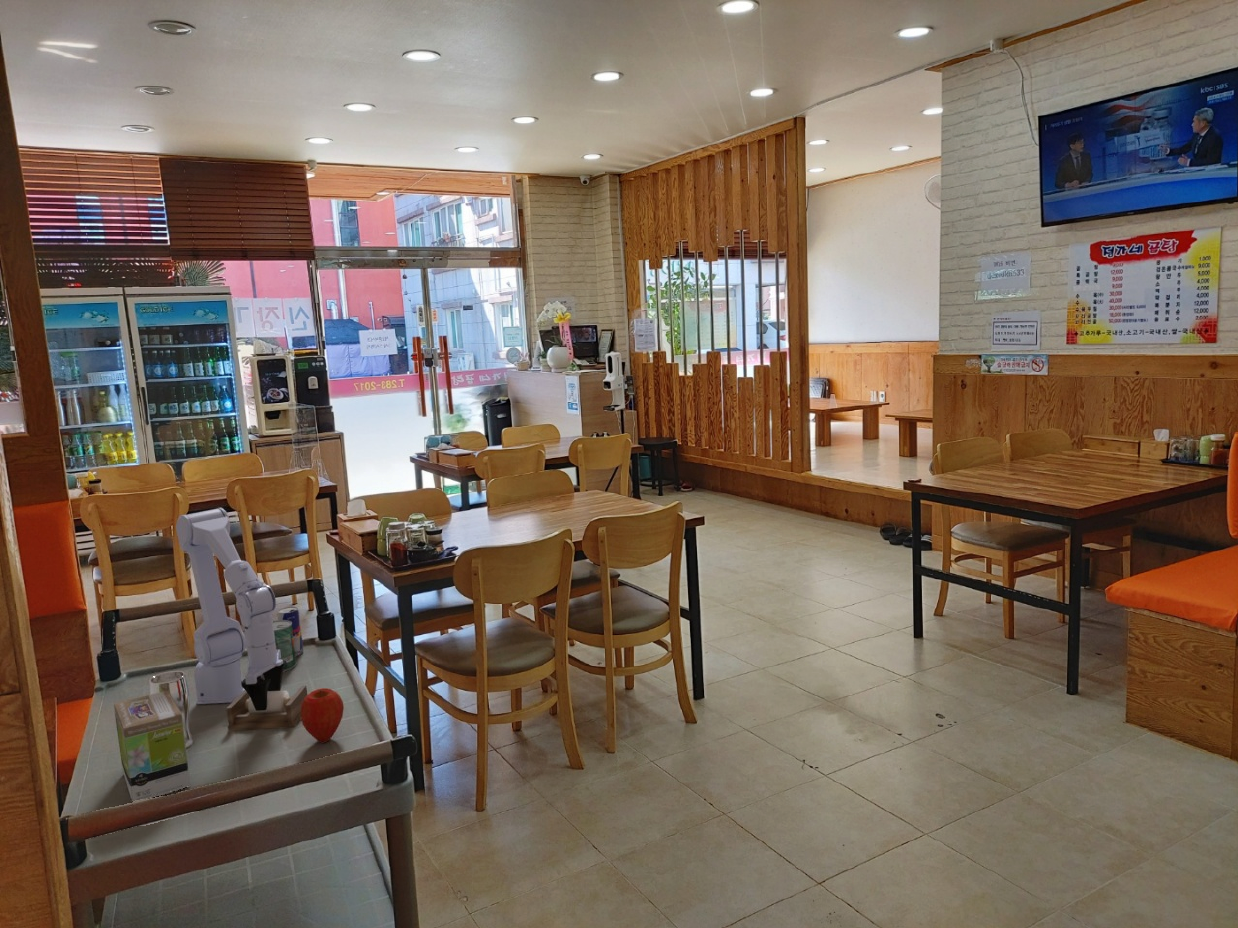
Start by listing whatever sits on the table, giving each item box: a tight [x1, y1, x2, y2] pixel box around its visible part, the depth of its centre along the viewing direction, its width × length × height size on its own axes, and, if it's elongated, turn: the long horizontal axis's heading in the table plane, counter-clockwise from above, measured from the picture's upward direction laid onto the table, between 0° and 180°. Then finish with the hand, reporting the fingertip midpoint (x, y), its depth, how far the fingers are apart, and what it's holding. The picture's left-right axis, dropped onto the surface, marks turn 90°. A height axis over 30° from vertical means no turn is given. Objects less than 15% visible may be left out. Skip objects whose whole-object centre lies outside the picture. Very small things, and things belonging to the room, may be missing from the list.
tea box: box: [113, 690, 191, 802], centre depth 166 cm, size 15×10×15 cm
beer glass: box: [148, 670, 194, 749], centre depth 180 cm, size 7×7×15 cm
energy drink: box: [276, 606, 304, 657], centre depth 230 cm, size 5×5×12 cm
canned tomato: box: [273, 619, 297, 673], centre depth 221 cm, size 8×8×11 cm
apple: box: [300, 687, 344, 743], centre depth 179 cm, size 9×8×11 cm
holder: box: [226, 685, 308, 731], centre depth 192 cm, size 14×10×5 cm
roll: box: [245, 690, 293, 714], centre depth 191 cm, size 9×5×5 cm, turn 91°
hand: (268, 702), depth 191 cm, fingers open, 7 cm apart
